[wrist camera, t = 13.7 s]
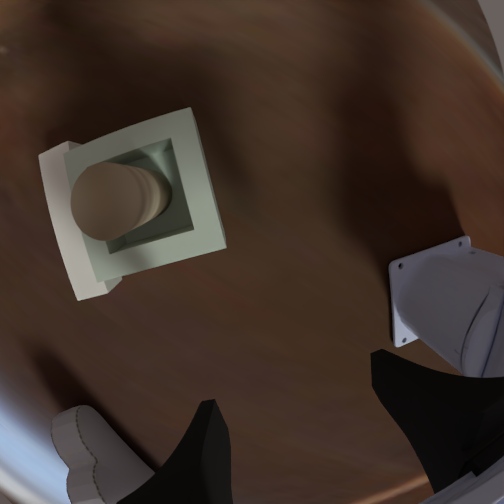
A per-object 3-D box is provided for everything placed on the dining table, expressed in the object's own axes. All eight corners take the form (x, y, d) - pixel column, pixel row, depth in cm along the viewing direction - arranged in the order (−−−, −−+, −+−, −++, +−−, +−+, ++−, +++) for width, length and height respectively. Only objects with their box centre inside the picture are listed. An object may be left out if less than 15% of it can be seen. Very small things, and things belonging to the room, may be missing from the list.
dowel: (168, 165, 18) (133, 154, 11) (175, 214, 19) (145, 234, 11) (123, 175, 18) (65, 171, 10) (130, 222, 19) (77, 246, 11)
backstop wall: (86, 146, 18) (67, 140, 15) (122, 279, 20) (108, 293, 17) (59, 158, 18) (38, 155, 15) (94, 287, 20) (77, 300, 17)
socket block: (196, 122, 18) (190, 107, 15) (225, 236, 20) (226, 247, 16) (89, 158, 18) (63, 153, 14) (118, 266, 20) (97, 282, 16)
